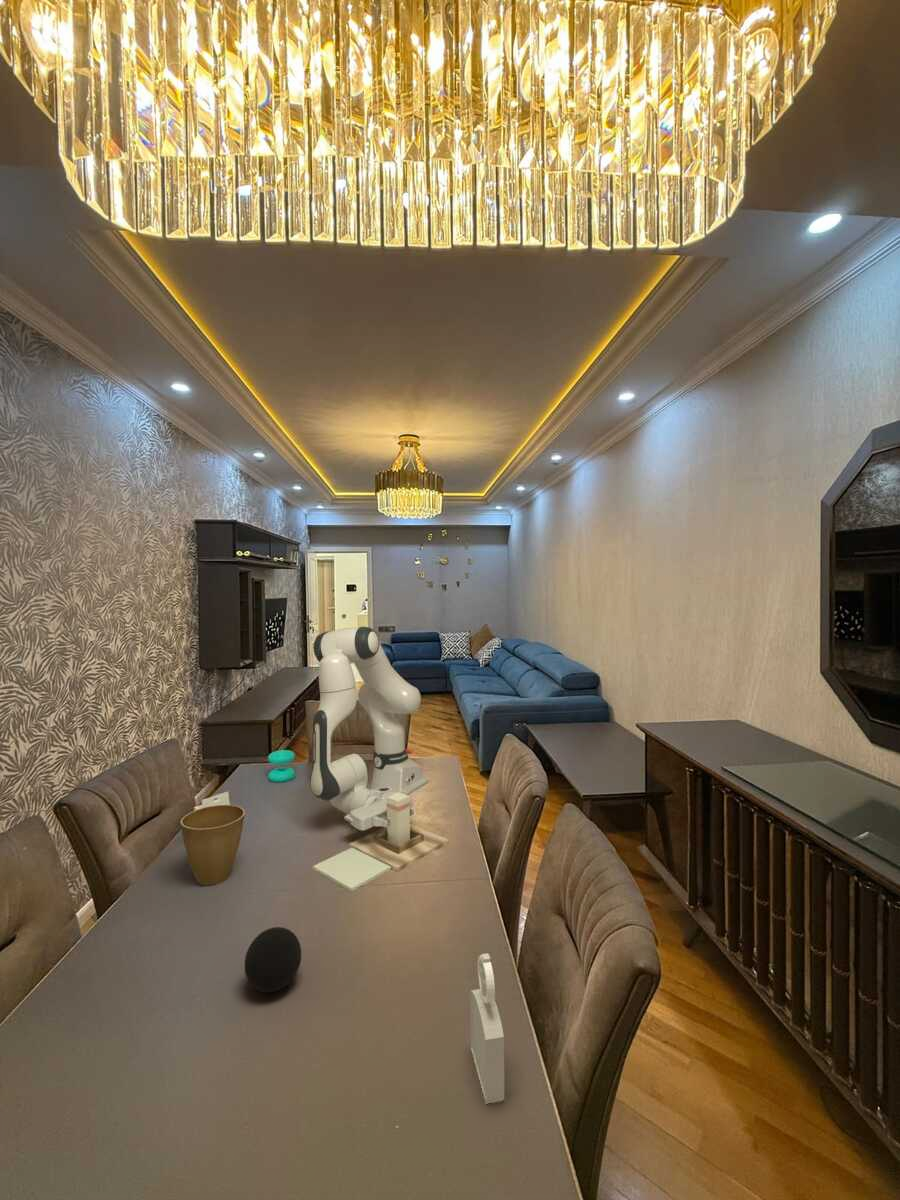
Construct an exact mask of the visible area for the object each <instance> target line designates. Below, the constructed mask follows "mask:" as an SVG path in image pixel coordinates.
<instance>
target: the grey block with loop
mask: <svg viewBox="0 0 900 1200" xmlns="http://www.w3.org/2000/svg"><path fill="white" fill-rule="evenodd" d="M477 977H478V982H479V983H478V984H479V988H478V989H471V990H470V991H469V992H470V993H469V994H470V995H469V996H470V997H469V998H470V1000H469V1001H470V1003H469V1004H470V1010H469V1011H470V1050H471V1054H473V1055H472V1058H474V1059H473V1062H474V1066H475V1065H476V1066H475V1070H476V1069H477V1070H476V1073H478V1074H477V1077H478V1080H480V1081H479V1084H481V1085H480V1088H482V1089H481V1092H482V1095H484V1096H483V1099H485V1100H484V1103H485V1105H486V1104H488V1103H493V1104H495V1103H494V1102H496V1101H497V1102H498V1101H503V1100H504V1101H505V1035H504V1030H503V1025H502V1021H501V1017H500V1013H499V1009H498V1006H497V1003H496V1000H495V999H496V985H495V983H496V982H495V977H494V971H493V965H492V962H491V956H490V954H489V953H482V954H481V955H478V958H477ZM504 1101H503V1102H504ZM498 1103H499V1102H498ZM488 1105H489V1104H488Z"/></svg>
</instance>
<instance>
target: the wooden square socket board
mask: <svg viewBox="0 0 900 1200" xmlns="http://www.w3.org/2000/svg"><path fill="white" fill-rule="evenodd" d="M447 844H449V839H448V838H446V837H443V836H441V835H438V834H435V833H433V832H431V831H429V830H428V831H427V830H425V829H423V828H420V827H418V826H416V825H413V824H411V823H410V840H408V841H406V842H405V843H403V844H401V845H399V846H398V845H395V844H393V843H391V842H389V841H388V830H387V827H386V828H385V827H383V828H380V829H378V830H375V831H373V832H372V833H369V834H367V835H365V836H363V837H361V838H359V839H357V840H355V841H351V842H350V843H348V848H349V849H350V848H354V849H356V850H358V851H360V852H362V853H364V854H366V855H368V856H370V857H372V858H374V859H376V860H378V861H380V862H382V863H384V864H386V865H388V866H390V867H391V870H394V871H395V872H400V871H402V870H403V869H405V868H407V867H409V866H410V865H412V864H413V863H416V862H417V861H419V860H421V859H423V858H424V857H426V856H428V855H430V854H431V853H433V852H435V851H437V850H439V849H440V848H443V847H444V846H446V845H447Z"/></svg>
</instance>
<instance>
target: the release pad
mask: <svg viewBox="0 0 900 1200" xmlns="http://www.w3.org/2000/svg"><path fill="white" fill-rule="evenodd" d="M312 870H314V871H315V872H317V873H318V874H319V875H321V876H323V877H325V878H327V879H329V880H330V881H332V882H333V883H336V884H337V885H339V886H340V887H343V888H344V889H346V890H347V891H349V890H350V892H351V891H352V892H354V891H355V890H357V889H359V888H361V887H363V886H364V885H366V884H368V883H370V882H371V881H373V880H376V879H377V878H378V877H381V876H382V875H384V874H386V873H388V872H390V871H391V870H392V869H391V867H390V866H388V865H386V864H384V863H382V862H380V861H378V860H376V859H374V858H372V857H370V856H368V855H366V854H364V853H362V852H360V851H358V850H356V849H354V848H349V849H348V848H347V849H346V850H344V851H342V852H339V853H337V854H335V855H333V856H331V857H329V858H327V859H324V860H323V861H321V862H318V863H316V864H315V865H312ZM362 885H363V886H362ZM360 886H361V887H360ZM358 887H359V888H358ZM353 890H354V891H353Z"/></svg>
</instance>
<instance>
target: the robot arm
mask: <svg viewBox="0 0 900 1200" xmlns="http://www.w3.org/2000/svg"><path fill="white" fill-rule="evenodd" d="M312 648H313V654H314V656H315V658H316V660H317V661H318V663H319V664H318V687H319V698H320V699H319V705H318V709H317V711H316V713H315V714H314V716H313V719H312V720H313V721H312V735H311V737H312V740H311V741H312V743H311V744H312V745H311V746H312V748H311V763H312V764H311V771H310V778H309V786H310V790H311V792H312V794H313V795H314V796H315V797H317V798H318V799H321V800H323V801H327V802H330V804H331V805H332V806H333V807H334V808H335V809H336V810H339V811H340V812H343V813H344V814H345V815H344V820H345V821H347V822H349V823H350V825H351V826H353V828H355V829H357V830H358V831H367V830H370V829H371V828H373V827H383V828H384V827H385V828H386V827H388V826H390V820H389V819H387V797H389V796H391V795H394V794H396V793H401V794H404V795H407V796H409V800H410V817H411V816H414V815H415V809H414V808H413V798H412V796H411V795H409V794H411V793H412V792H414V791H415V790H417V789H419V788H420V787H423V785H426V783H428V782H429V778H428V777H427V776H425V775H423V771H422V767H421V765H420V764H419V763H417V762H416V761H414V760H413V759H412V758H410V757H409V755H413V753H414V749H413V748H410V747H408V748H407V747H405V745H406V744H405V740H406V739H405V738H406V737H405V728H404V726H403V724H402V723H400V722H399V721H398V719H397V718H396V716H395V715H411V714H415V713H416V712H417V711H418V709H419V707H420V706H421V702H422V701H421V700H422V697H421V696H422V695H421V693H420V691H419V689H418V687H415V686H413V685H412V684H410V683H409V682H408V681H406V680H405V679H404V678H403V677H402V676H401V675H400V674H399V673H398V672H397V671H396V670H395V668H394V667H393V666H392V665H391V662H390V661H389V659H388V657H387V655H386V652H385V651H384V649H383V647H382V645H381V643H380V637H379V635H378V633H377V631H375V630H374V629H373V628H371V627H369V626H359V627H344V628H341V629H337V630H336V629H335V630H332V631H329V630H328V631H324V632H322V633H321V632H320V634H318V635H317V636H316V637H315V640H314V642H313V647H312ZM352 662H353V664H354V666H355V668H356V671H357V672H358V674H359V675H360V677H361V680H362V681H363V682H364V683H363V684H362V685H361V686H360V688H359V689H358V691H357V686H356V680H355V674H354V671H353V668H352ZM357 702H358V703H359V705H360V706H361V707H362V708H363V709H364V710H365V712H366V713H367V715H368V717H369V719H370V722H371V725H372V730H373V739H374V740H373V741H374V743H373V744H374V745H373V747H374V749H373V753H372V754H373V755H372V756H373V772H372V779H371V784H370V785H371V786H370V788H368V785H369V781H370V780H369V779H370V767H369V764H368V762H367V760H366V759H365V758H364V757H362V755H360V754H358V753H353V752H352V753H350V754H348V755H344V756H343V757H341V758H338V759H336V760H333V761H332V759H331V758H332V754H331V753H332V746H331V745H332V743H331V742H332V735H333V733H334V731H335V730H336V728H337V727H338V726H339V725H340V724H341V723H342V722H343V721H344V720H345V719H346V718H347V717H349V716H350V715H351V714H352V713H353V712H354V710H355V709H356V706H357V704H358V703H357ZM408 754H409V755H408Z"/></svg>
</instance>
